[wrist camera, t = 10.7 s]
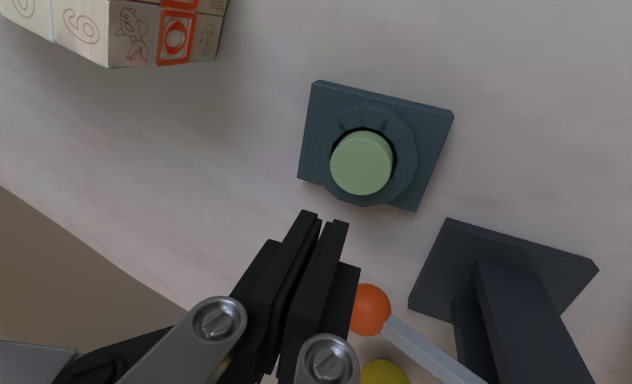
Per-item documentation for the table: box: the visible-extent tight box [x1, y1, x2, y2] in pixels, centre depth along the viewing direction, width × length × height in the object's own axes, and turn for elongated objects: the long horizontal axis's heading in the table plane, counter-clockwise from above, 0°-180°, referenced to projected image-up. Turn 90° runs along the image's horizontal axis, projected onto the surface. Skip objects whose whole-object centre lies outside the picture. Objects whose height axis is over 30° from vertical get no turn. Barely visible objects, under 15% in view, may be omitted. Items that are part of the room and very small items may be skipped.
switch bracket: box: [408, 218, 599, 384], centre depth 19 cm, size 10×9×13 cm
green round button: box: [330, 131, 393, 195], centre depth 18 cm, size 4×4×2 cm
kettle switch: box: [349, 283, 488, 384], centre depth 17 cm, size 13×3×3 cm, turn 81°
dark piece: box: [297, 80, 454, 212], centre depth 20 cm, size 9×7×4 cm
